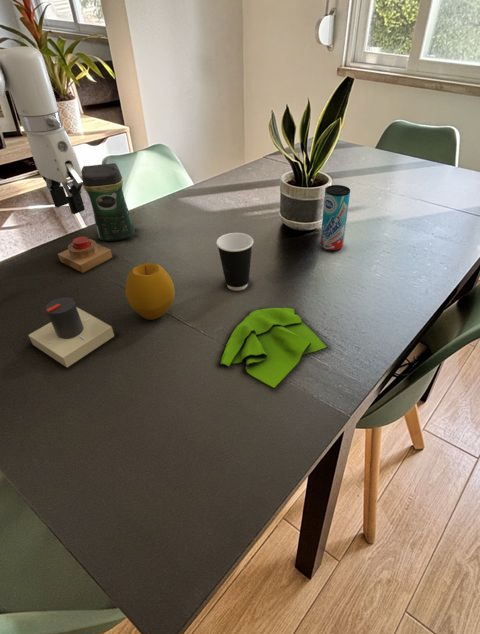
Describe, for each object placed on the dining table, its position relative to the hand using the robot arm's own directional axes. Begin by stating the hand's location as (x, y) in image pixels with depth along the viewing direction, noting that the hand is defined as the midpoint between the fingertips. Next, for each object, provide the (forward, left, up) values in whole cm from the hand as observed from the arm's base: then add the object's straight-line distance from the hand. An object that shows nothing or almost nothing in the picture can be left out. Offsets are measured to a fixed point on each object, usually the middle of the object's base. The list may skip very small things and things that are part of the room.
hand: (69, 207), depth 98 cm
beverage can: (+47, +41, -14) cm, 64 cm away
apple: (+31, -6, -14) cm, 34 cm away
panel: (+24, -21, -13) cm, 35 cm away
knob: (+24, -21, -11) cm, 34 cm away
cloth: (+56, 0, -14) cm, 58 cm away
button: (0, 0, -10) cm, 10 cm away
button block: (0, 0, -13) cm, 13 cm away
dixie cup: (+38, +13, -14) cm, 42 cm away
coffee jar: (-4, +13, -14) cm, 19 cm away
